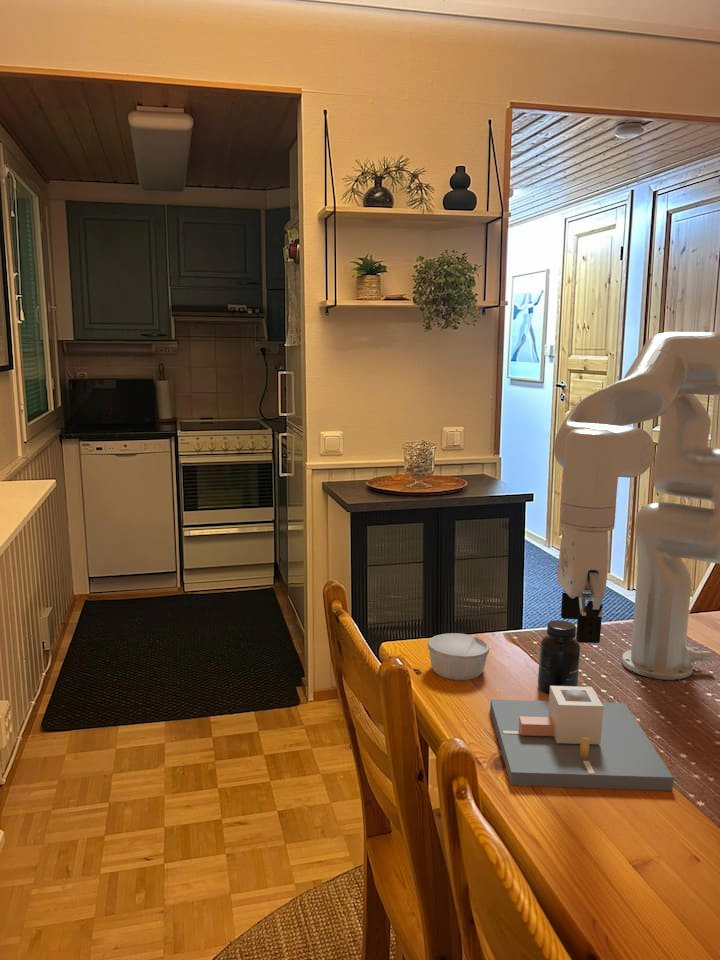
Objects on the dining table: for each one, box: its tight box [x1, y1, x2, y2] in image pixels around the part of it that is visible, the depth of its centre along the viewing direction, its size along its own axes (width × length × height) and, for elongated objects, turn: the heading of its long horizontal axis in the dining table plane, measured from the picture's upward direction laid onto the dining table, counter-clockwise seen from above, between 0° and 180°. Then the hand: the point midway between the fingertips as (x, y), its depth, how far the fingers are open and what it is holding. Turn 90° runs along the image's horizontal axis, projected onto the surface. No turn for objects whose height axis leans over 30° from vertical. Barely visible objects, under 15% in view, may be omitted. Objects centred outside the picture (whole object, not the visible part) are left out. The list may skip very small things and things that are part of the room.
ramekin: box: [427, 632, 490, 681], centre depth 143 cm, size 11×11×5 cm
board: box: [489, 689, 674, 792], centre depth 116 cm, size 22×22×9 cm
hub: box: [519, 685, 603, 744], centre depth 116 cm, size 11×6×6 cm, turn 88°
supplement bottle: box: [537, 619, 581, 695], centre depth 135 cm, size 7×7×12 cm
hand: (579, 629), depth 113 cm, fingers open, 9 cm apart
